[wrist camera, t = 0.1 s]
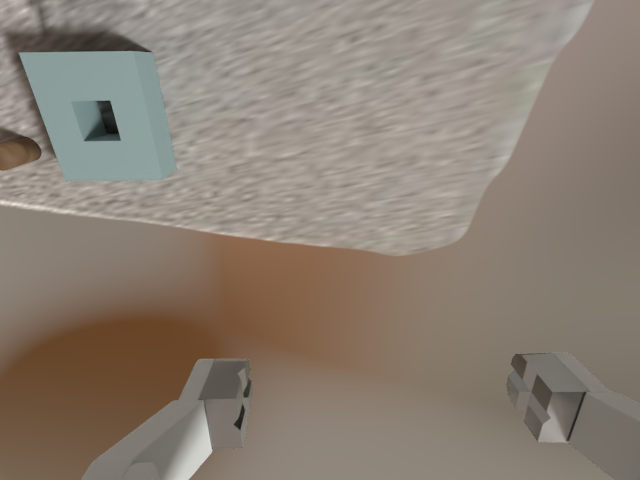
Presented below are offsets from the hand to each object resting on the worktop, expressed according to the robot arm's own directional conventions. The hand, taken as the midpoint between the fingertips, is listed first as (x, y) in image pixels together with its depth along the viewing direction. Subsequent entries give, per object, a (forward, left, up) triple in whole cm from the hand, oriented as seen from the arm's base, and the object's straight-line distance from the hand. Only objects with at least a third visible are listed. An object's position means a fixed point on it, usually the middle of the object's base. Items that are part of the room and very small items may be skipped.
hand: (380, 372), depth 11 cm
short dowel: (+1, -40, -39) cm, 56 cm away
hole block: (-3, -27, -39) cm, 47 cm away
